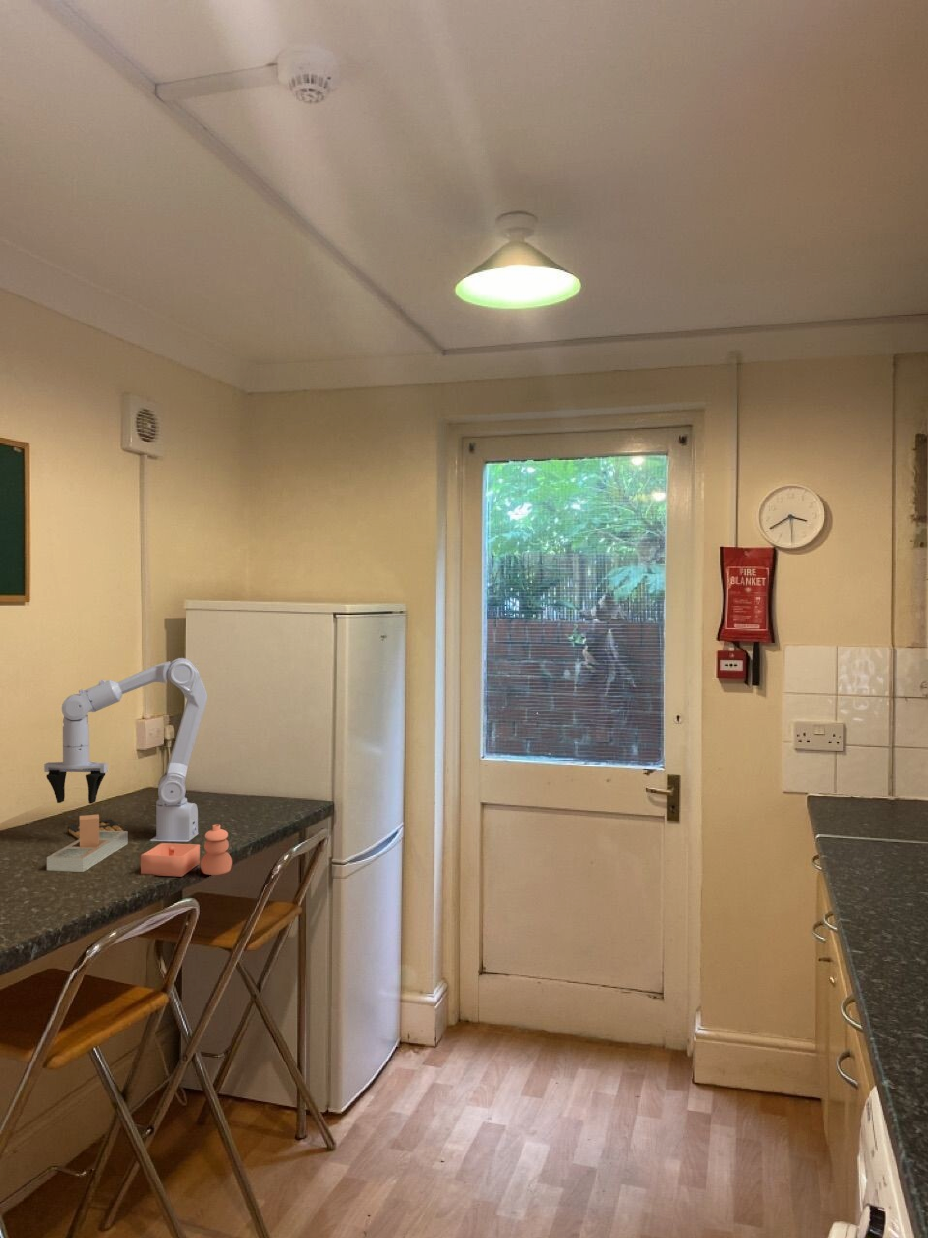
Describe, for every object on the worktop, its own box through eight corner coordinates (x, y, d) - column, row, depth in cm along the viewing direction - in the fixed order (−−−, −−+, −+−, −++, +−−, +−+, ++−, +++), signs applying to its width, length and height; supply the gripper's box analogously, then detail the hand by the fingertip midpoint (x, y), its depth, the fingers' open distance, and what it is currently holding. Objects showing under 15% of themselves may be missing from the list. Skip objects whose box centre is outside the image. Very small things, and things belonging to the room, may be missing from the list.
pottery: (140, 874, 191) (140, 828, 191) (161, 861, 200) (160, 818, 200) (222, 878, 189) (222, 832, 189) (238, 865, 198) (238, 820, 198)
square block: (98, 853, 206) (98, 814, 206) (99, 858, 202) (99, 818, 202) (79, 855, 204) (79, 816, 204) (79, 860, 201) (79, 820, 200)
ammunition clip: (67, 833, 222) (84, 846, 213) (67, 826, 222) (84, 838, 213) (111, 826, 229) (129, 838, 220) (111, 819, 229) (129, 830, 220)
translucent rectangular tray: (94, 843, 214) (94, 830, 214) (127, 843, 214) (127, 831, 214) (46, 871, 192) (46, 857, 192) (83, 872, 192) (83, 858, 192)
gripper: (113, 742, 217) (113, 799, 217) (54, 742, 217) (55, 798, 218) (99, 747, 210) (100, 805, 210) (39, 746, 210) (39, 804, 211)
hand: (76, 802), depth 213 cm, fingers open, 7 cm apart
